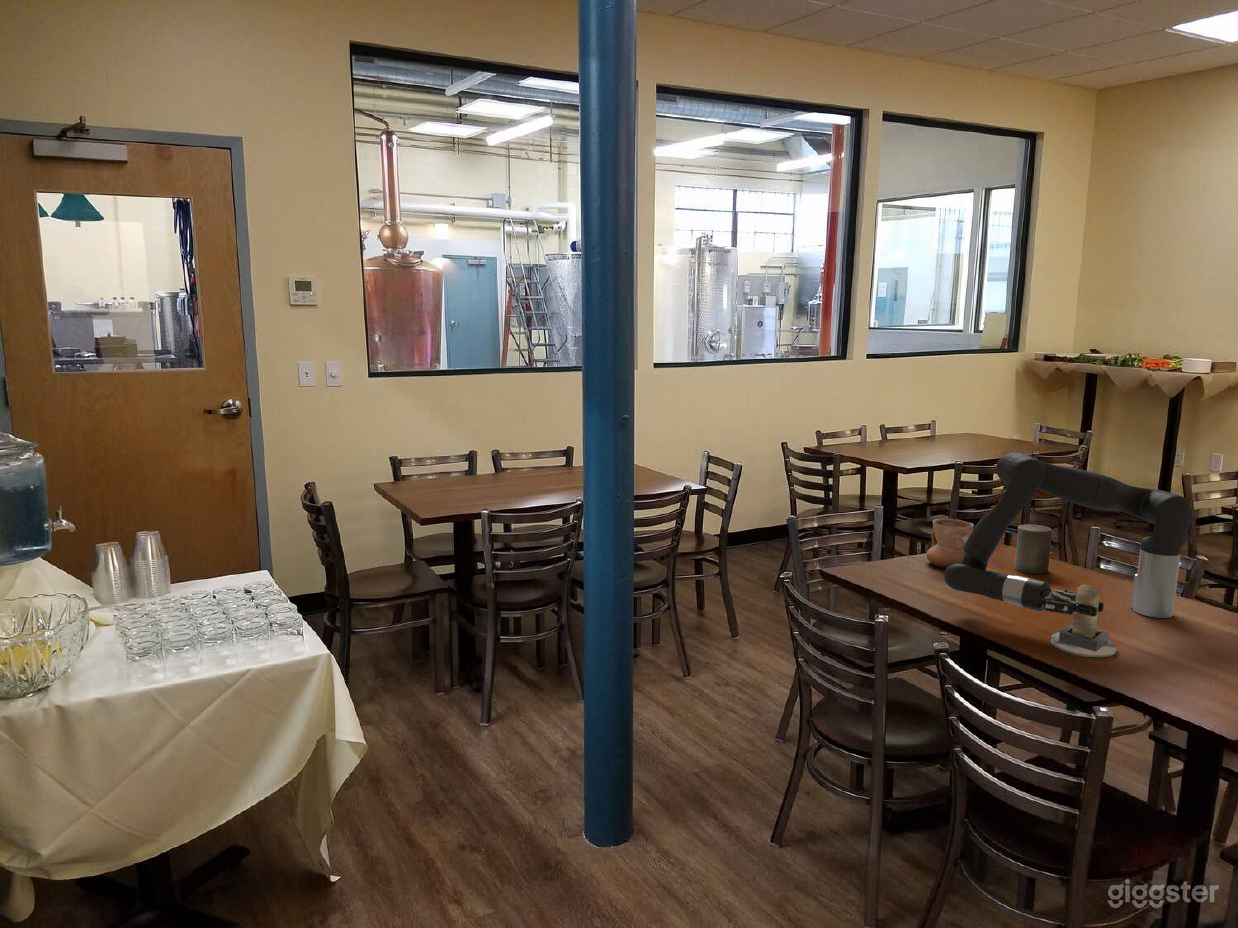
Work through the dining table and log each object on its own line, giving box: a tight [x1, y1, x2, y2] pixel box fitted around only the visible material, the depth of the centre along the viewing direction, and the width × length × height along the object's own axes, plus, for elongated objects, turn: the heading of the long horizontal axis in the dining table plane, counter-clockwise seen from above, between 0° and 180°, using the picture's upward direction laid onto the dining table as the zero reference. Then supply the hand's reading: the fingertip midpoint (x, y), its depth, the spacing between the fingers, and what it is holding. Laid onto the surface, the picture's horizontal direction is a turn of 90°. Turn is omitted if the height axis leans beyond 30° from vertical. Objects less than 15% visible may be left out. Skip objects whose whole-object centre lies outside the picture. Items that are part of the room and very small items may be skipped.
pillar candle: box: [1014, 523, 1053, 575], centre depth 271 cm, size 10×10×15 cm
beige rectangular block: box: [1072, 583, 1102, 638], centre depth 208 cm, size 4×4×12 cm
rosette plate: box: [1050, 623, 1117, 659], centre depth 209 cm, size 14×14×4 cm
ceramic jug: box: [925, 518, 975, 569], centre depth 275 cm, size 18×14×14 cm
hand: (1099, 609), depth 206 cm, fingers closed on beige rectangular block, 4 cm apart
